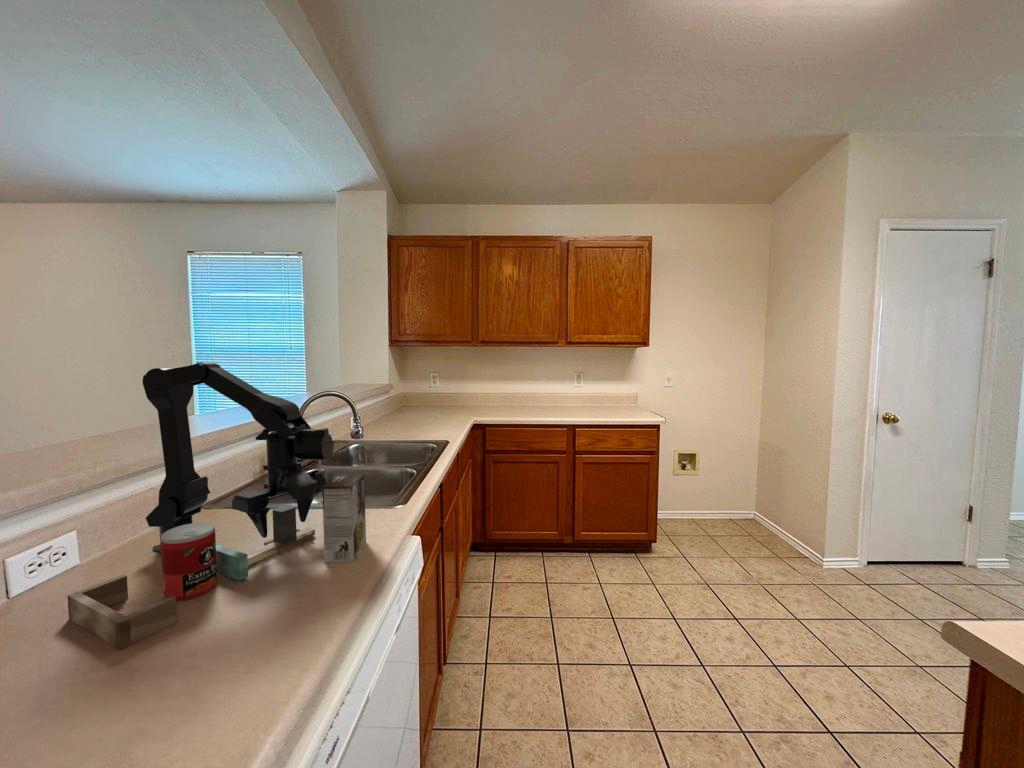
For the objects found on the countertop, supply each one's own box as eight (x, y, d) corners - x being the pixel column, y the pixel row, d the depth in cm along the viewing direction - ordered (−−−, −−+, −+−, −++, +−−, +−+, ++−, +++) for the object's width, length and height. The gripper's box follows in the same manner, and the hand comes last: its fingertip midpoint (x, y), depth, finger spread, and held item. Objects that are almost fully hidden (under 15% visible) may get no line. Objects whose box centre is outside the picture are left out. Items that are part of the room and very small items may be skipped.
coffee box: (337, 543, 93) (336, 473, 92) (367, 542, 94) (365, 472, 93) (322, 563, 84) (320, 485, 83) (355, 561, 85) (353, 484, 84)
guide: (264, 550, 89) (264, 542, 89) (297, 536, 97) (297, 528, 97) (281, 555, 87) (280, 547, 87) (313, 540, 94) (313, 532, 94)
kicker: (204, 568, 81) (202, 526, 81) (295, 529, 99) (294, 495, 99) (239, 580, 77) (237, 537, 76) (328, 538, 95) (327, 502, 94)
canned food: (189, 604, 70) (185, 541, 69) (151, 599, 71) (147, 537, 71) (228, 580, 77) (225, 523, 77) (193, 576, 79) (190, 520, 78)
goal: (68, 619, 66) (67, 595, 66) (124, 596, 72) (123, 574, 72) (120, 650, 59) (119, 623, 59) (177, 621, 65) (175, 597, 65)
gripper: (265, 475, 78) (268, 554, 79) (343, 454, 95) (344, 520, 96) (228, 468, 83) (232, 543, 84) (309, 449, 100) (311, 512, 101)
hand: (284, 529), depth 91 cm, fingers open, 9 cm apart
